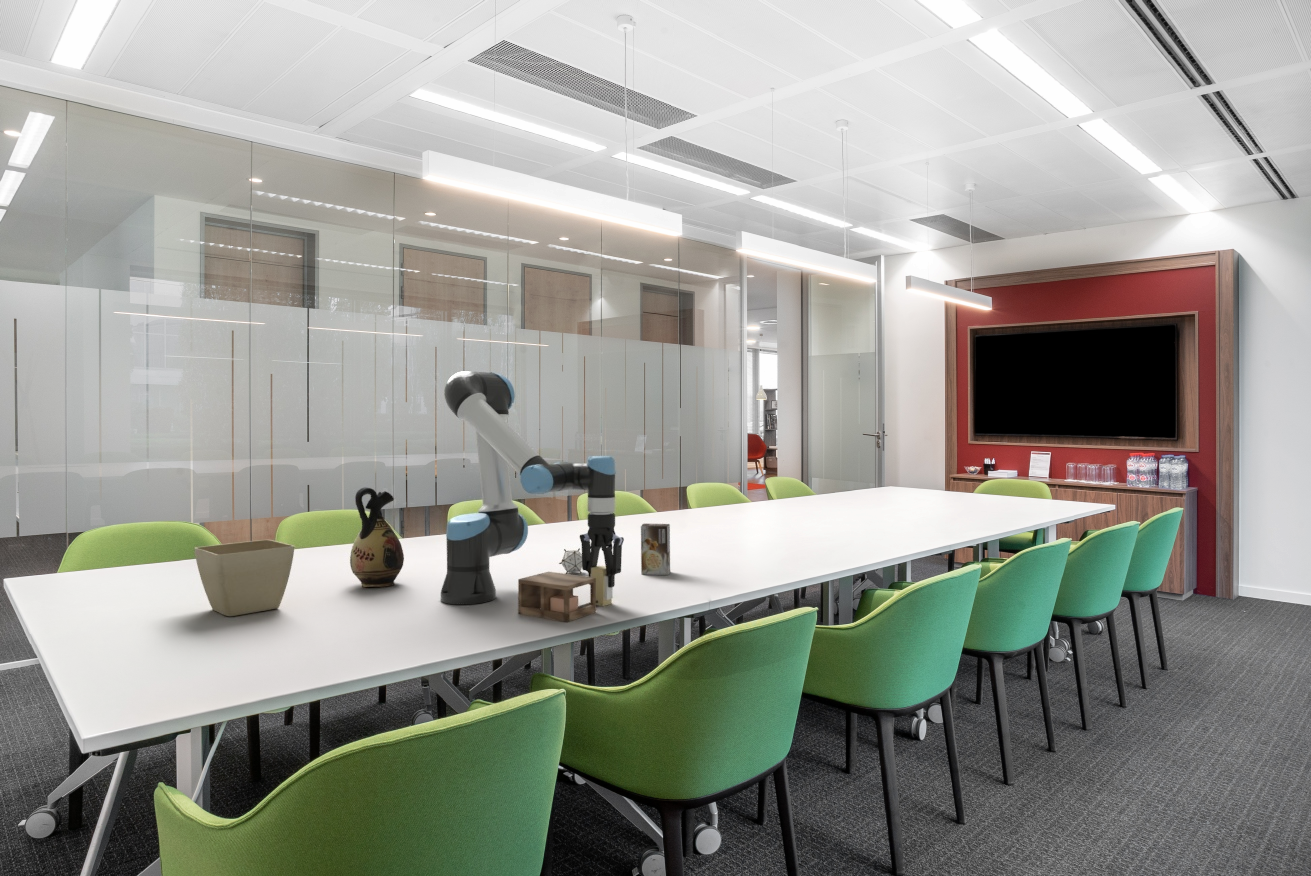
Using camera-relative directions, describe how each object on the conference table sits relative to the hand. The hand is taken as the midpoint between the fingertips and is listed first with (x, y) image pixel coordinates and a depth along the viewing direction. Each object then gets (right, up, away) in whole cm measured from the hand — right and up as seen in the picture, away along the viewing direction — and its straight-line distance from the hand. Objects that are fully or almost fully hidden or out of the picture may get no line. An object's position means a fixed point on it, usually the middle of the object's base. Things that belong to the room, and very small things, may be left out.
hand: (601, 597), depth 210 cm
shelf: (-11, -2, -10) cm, 15 cm away
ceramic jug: (-71, -1, +24) cm, 74 cm away
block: (-4, -2, -7) cm, 8 cm away
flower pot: (-94, -2, -6) cm, 94 cm away
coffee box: (+15, -1, +43) cm, 45 cm away
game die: (-12, -1, +43) cm, 44 cm away
